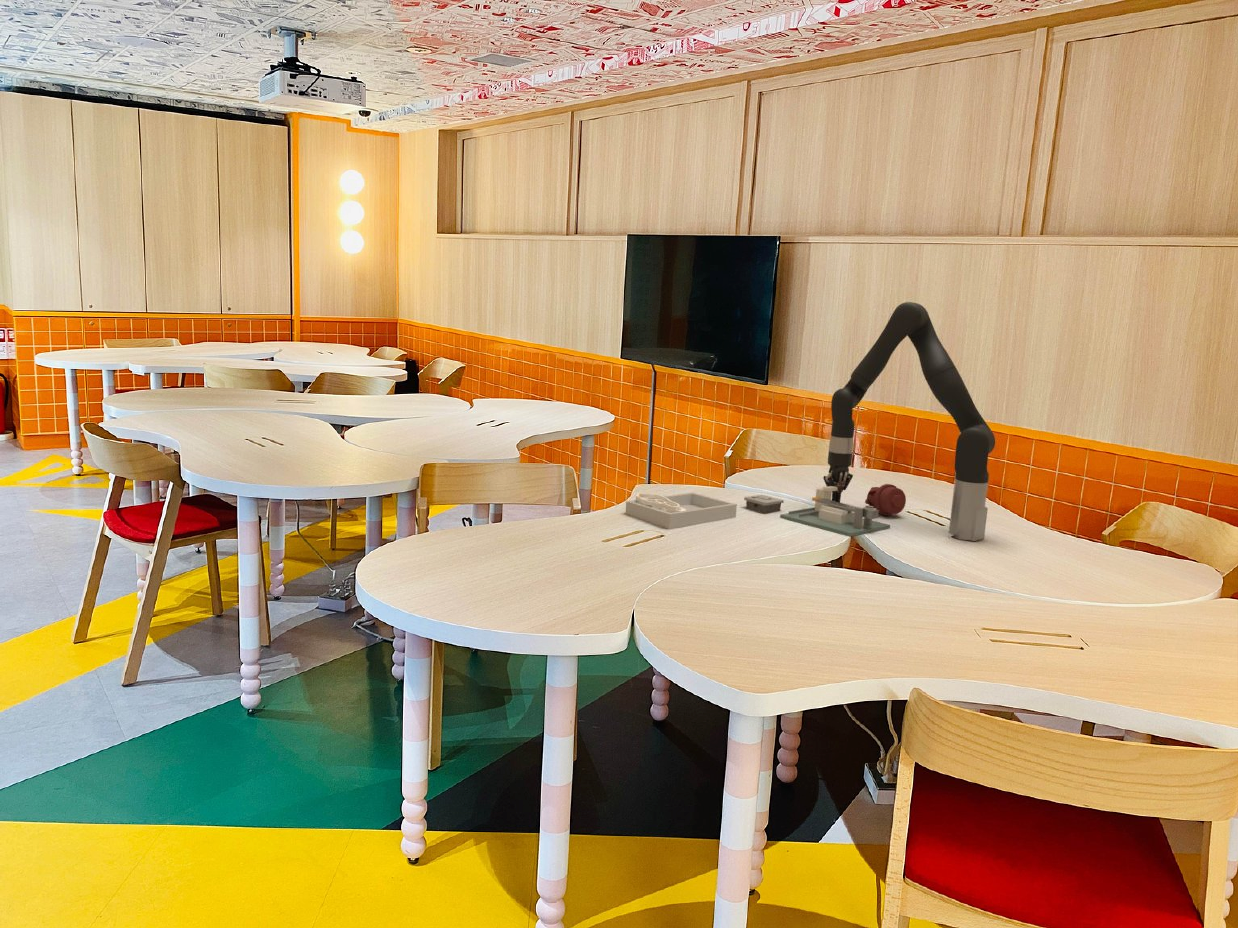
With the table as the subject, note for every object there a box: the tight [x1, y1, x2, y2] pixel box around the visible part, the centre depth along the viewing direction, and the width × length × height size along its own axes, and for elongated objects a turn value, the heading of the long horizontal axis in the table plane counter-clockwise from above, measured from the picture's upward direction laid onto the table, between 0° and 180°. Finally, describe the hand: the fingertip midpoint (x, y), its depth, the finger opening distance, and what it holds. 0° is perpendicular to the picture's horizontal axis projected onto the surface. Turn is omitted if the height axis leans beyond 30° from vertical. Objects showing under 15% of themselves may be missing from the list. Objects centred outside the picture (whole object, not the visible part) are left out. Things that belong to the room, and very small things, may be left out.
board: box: [779, 504, 891, 537], centre depth 284 cm, size 26×20×7 cm
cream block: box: [814, 486, 838, 511], centre depth 295 cm, size 5×4×8 cm
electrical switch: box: [743, 494, 784, 514], centre depth 297 cm, size 9×5×9 cm
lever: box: [811, 496, 880, 520], centre depth 282 cm, size 22×3×2 cm, turn 41°
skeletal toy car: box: [635, 492, 686, 513], centre depth 278 cm, size 20×11×7 cm, turn 21°
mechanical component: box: [864, 483, 907, 516], centre depth 300 cm, size 12×10×10 cm
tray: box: [625, 492, 738, 530], centre depth 282 cm, size 19×28×4 cm
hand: (835, 503), depth 301 cm, fingers closed
